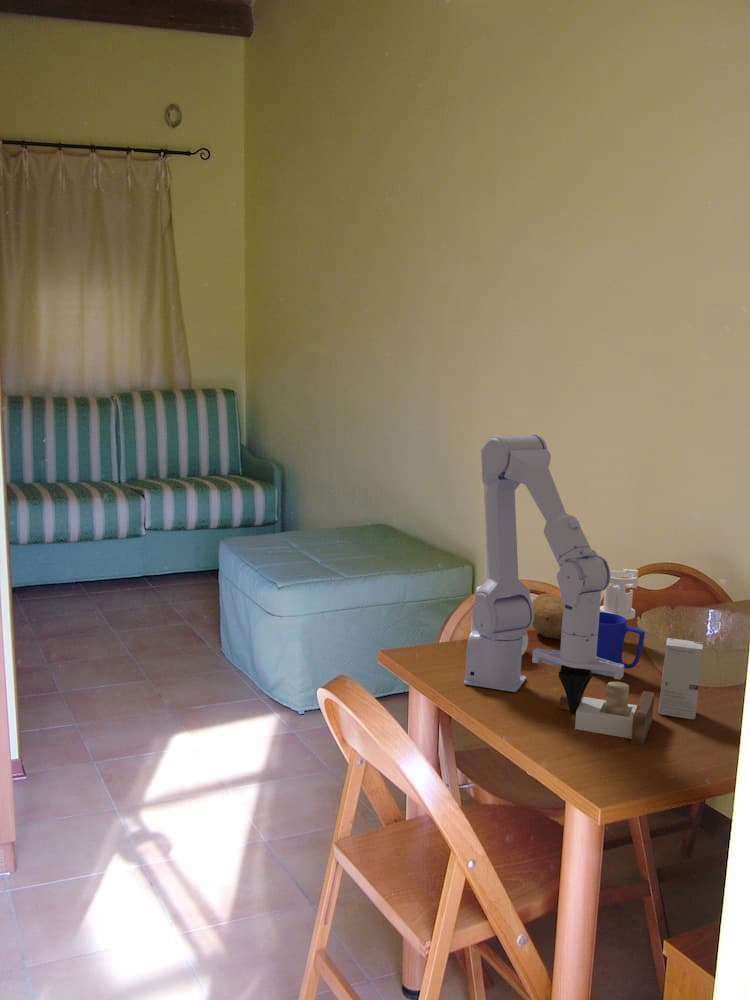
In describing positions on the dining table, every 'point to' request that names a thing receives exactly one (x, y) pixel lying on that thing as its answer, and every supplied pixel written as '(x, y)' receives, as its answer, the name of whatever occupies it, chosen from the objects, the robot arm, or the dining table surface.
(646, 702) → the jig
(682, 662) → the skincare box
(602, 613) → the mug
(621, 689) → the dowel
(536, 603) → the potato
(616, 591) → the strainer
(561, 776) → the dining table surface
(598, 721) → the white pocketed block
